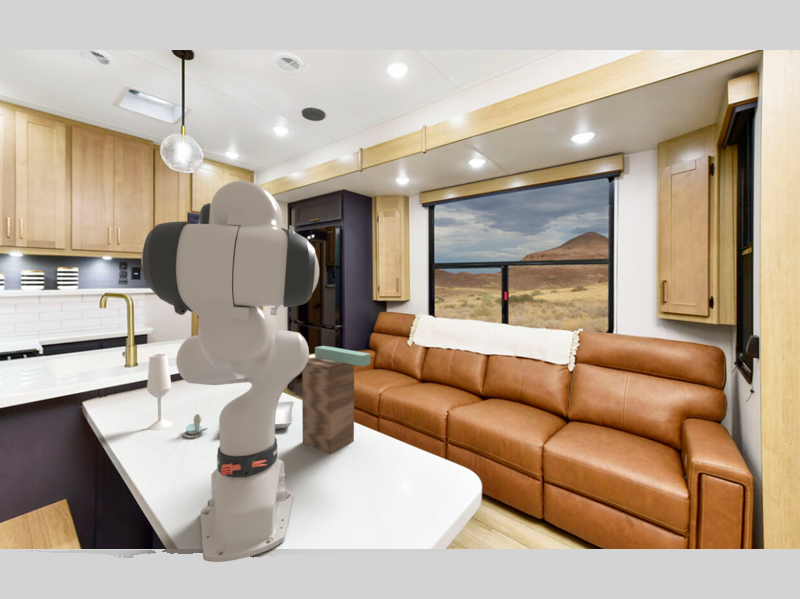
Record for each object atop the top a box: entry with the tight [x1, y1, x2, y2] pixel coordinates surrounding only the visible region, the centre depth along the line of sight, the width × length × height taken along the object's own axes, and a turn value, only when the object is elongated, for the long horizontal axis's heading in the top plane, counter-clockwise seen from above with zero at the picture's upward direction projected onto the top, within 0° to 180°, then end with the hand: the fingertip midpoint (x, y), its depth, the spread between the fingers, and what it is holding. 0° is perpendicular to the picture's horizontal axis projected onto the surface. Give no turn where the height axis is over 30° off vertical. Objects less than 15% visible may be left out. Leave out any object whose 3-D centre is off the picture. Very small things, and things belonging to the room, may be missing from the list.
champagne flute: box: [146, 353, 173, 431], centre depth 117 cm, size 7×7×24 cm
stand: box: [301, 353, 355, 455], centre depth 107 cm, size 15×14×26 cm
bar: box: [314, 345, 372, 367], centre depth 103 cm, size 19×4×3 cm, turn 56°
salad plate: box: [275, 401, 295, 430], centre depth 122 cm, size 21×21×3 cm
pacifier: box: [182, 413, 208, 439], centre depth 111 cm, size 7×6×6 cm
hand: (255, 313), depth 96 cm, fingers open, 8 cm apart
